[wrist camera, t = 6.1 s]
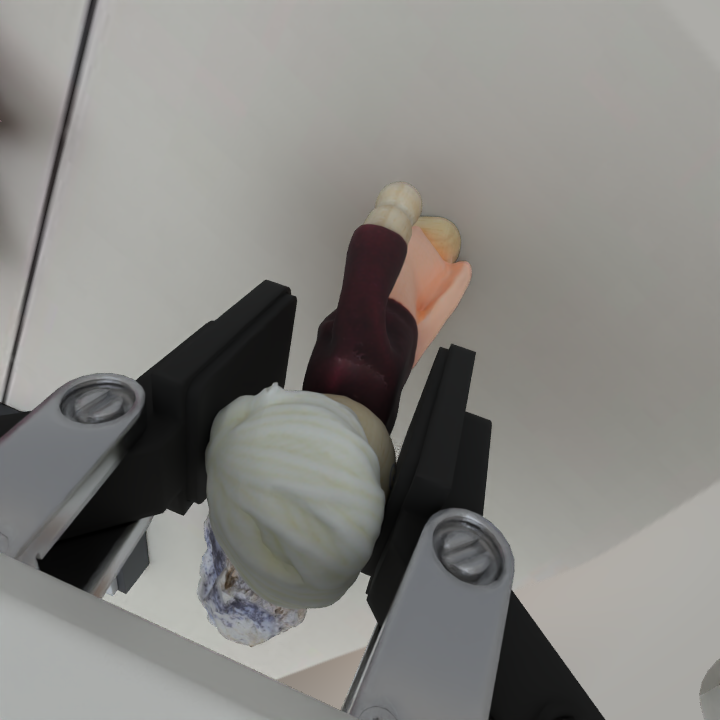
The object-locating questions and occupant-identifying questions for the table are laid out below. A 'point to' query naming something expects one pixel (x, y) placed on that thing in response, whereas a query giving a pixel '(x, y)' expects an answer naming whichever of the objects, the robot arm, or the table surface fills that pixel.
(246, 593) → the mineral specimen
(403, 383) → the grandmother figurine
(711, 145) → the table surface
